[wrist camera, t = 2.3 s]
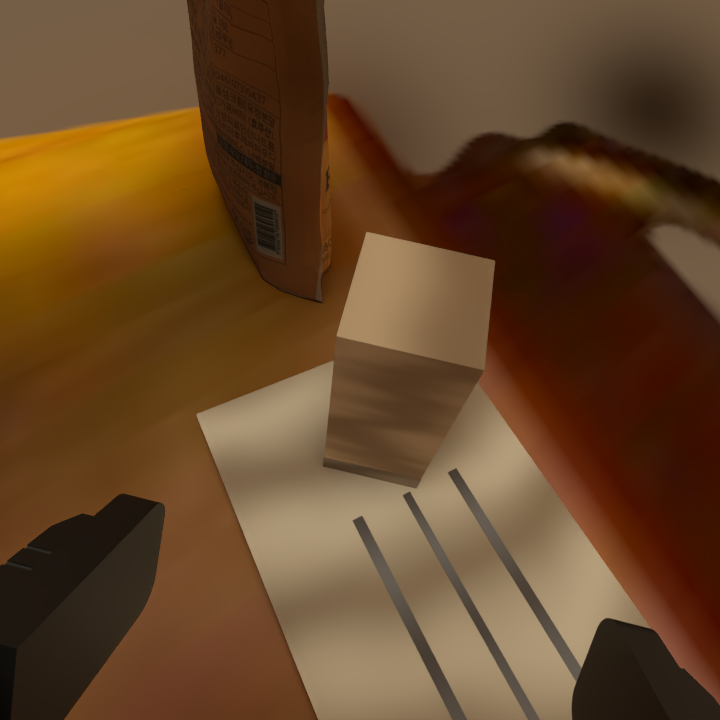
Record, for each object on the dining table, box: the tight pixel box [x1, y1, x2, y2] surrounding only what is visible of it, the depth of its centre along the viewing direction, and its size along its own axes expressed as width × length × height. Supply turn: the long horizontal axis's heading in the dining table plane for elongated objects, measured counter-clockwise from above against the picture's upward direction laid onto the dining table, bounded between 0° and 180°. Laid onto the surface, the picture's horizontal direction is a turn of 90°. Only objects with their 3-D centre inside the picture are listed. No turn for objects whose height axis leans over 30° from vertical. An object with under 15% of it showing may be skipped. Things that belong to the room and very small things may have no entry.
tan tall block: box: [323, 232, 495, 489], centre depth 21 cm, size 5×5×11 cm
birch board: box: [196, 361, 651, 720], centre depth 24 cm, size 22×14×2 cm, turn 28°
